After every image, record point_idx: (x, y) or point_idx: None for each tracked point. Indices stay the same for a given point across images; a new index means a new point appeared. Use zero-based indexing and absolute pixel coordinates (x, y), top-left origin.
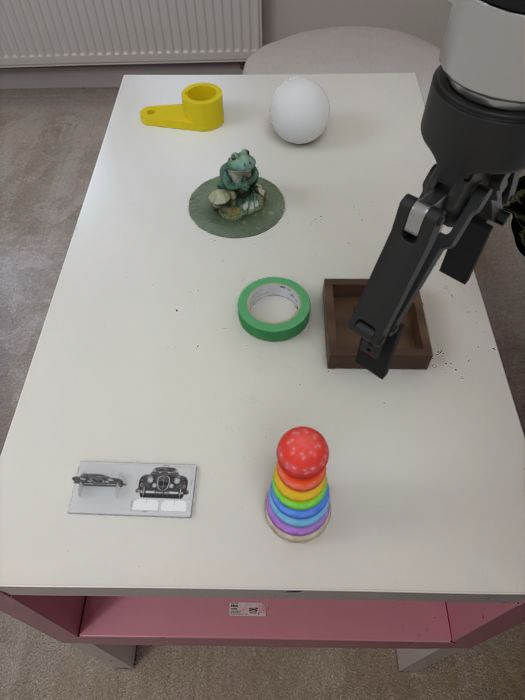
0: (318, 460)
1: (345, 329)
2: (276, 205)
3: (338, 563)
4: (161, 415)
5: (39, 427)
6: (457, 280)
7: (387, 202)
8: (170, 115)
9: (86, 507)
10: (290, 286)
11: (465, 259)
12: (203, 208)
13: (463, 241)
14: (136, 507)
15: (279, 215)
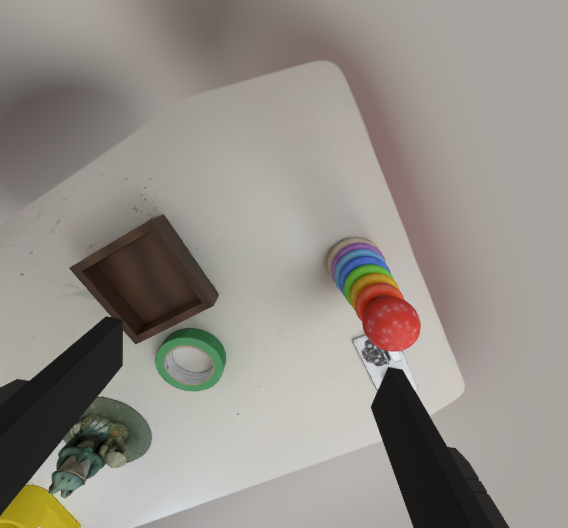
0: (407, 314)
1: (171, 298)
2: None
3: (378, 215)
4: (326, 378)
5: (371, 432)
6: (121, 333)
7: None
8: (55, 522)
9: (410, 382)
10: (163, 362)
11: (82, 377)
12: (130, 449)
13: (47, 433)
14: (398, 357)
15: None
